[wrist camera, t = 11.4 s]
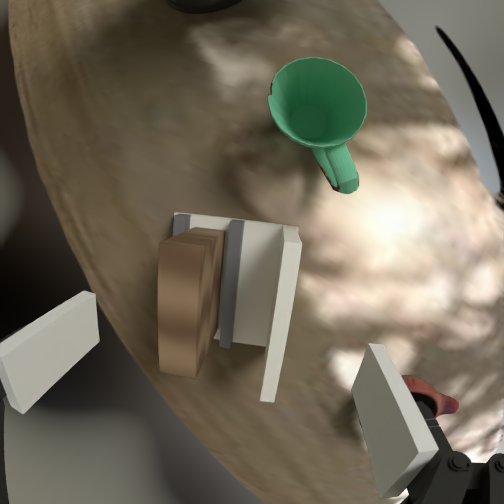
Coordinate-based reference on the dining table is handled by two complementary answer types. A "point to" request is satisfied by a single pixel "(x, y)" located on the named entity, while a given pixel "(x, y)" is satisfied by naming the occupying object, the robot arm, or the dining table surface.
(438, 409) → the bowl
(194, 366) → the door slab
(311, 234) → the dining table surface
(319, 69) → the mug
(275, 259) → the track sill
